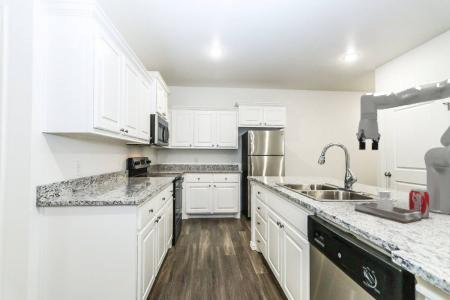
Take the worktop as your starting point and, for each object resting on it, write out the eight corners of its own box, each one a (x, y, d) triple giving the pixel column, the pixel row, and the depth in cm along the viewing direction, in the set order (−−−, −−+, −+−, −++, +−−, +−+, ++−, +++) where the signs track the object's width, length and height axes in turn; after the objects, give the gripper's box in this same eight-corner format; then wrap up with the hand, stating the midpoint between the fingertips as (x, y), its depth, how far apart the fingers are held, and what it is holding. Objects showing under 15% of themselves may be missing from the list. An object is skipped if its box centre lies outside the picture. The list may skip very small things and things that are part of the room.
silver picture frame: (371, 208, 118) (371, 201, 118) (421, 220, 98) (421, 212, 98) (354, 210, 113) (354, 203, 113) (404, 223, 93) (404, 214, 93)
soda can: (433, 219, 99) (433, 191, 100) (414, 218, 101) (414, 190, 101) (422, 215, 106) (422, 189, 107) (405, 214, 108) (405, 188, 108)
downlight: (399, 214, 103) (398, 192, 103) (386, 215, 101) (385, 192, 102) (383, 211, 110) (382, 190, 111) (371, 211, 109) (370, 190, 110)
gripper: (372, 119, 128) (372, 150, 127) (350, 117, 121) (350, 149, 121) (386, 117, 121) (386, 150, 120) (364, 115, 114) (364, 149, 114)
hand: (368, 149), depth 121 cm, fingers open, 9 cm apart
